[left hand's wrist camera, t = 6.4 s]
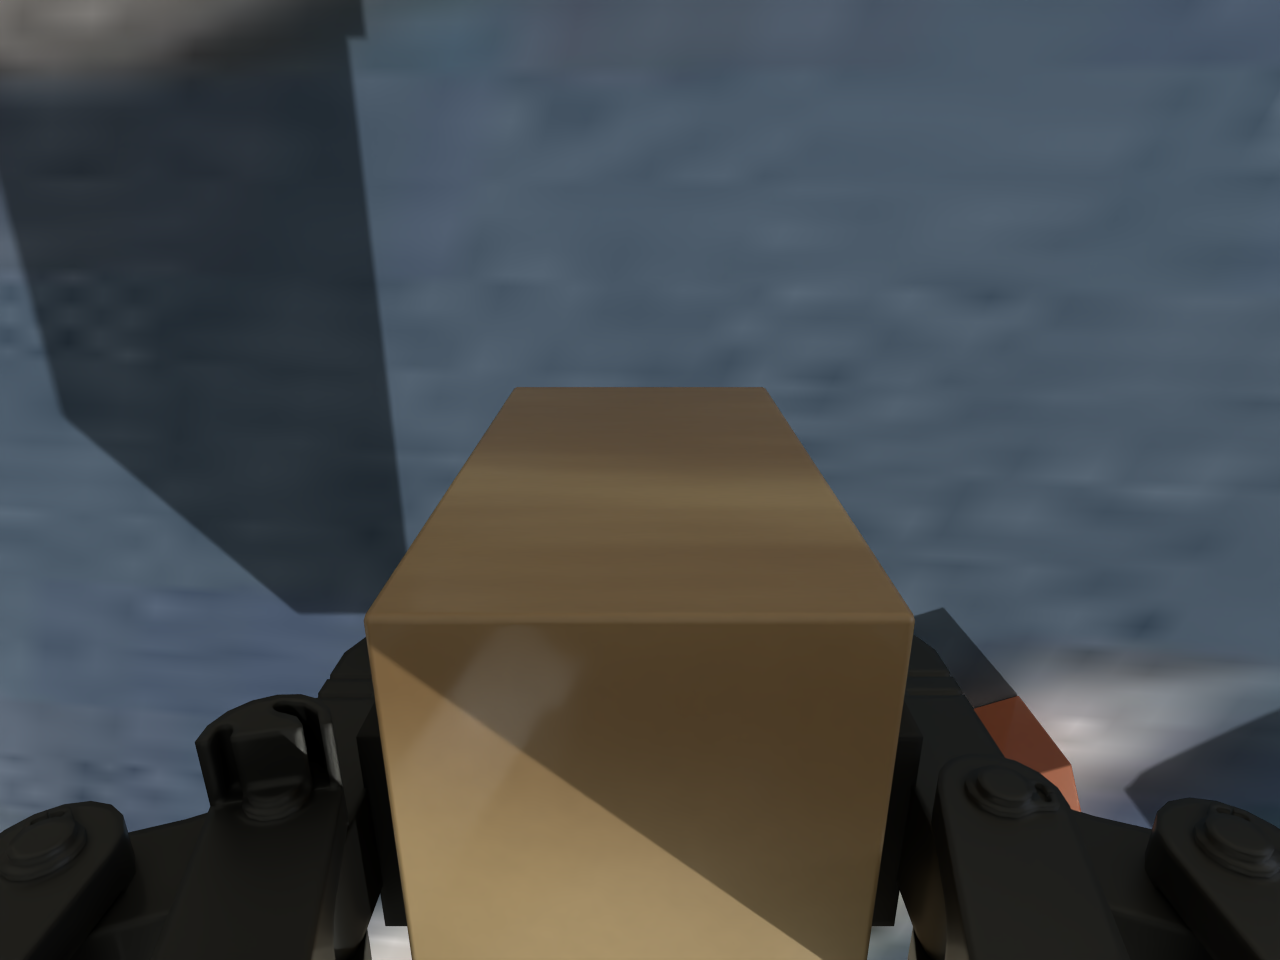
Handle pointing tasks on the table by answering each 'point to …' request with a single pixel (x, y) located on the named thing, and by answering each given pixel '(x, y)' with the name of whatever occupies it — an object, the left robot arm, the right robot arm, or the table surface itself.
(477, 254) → the table surface
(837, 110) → the table surface
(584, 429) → the birch beam
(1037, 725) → the terracotta block
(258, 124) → the table surface
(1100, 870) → the left robot arm
